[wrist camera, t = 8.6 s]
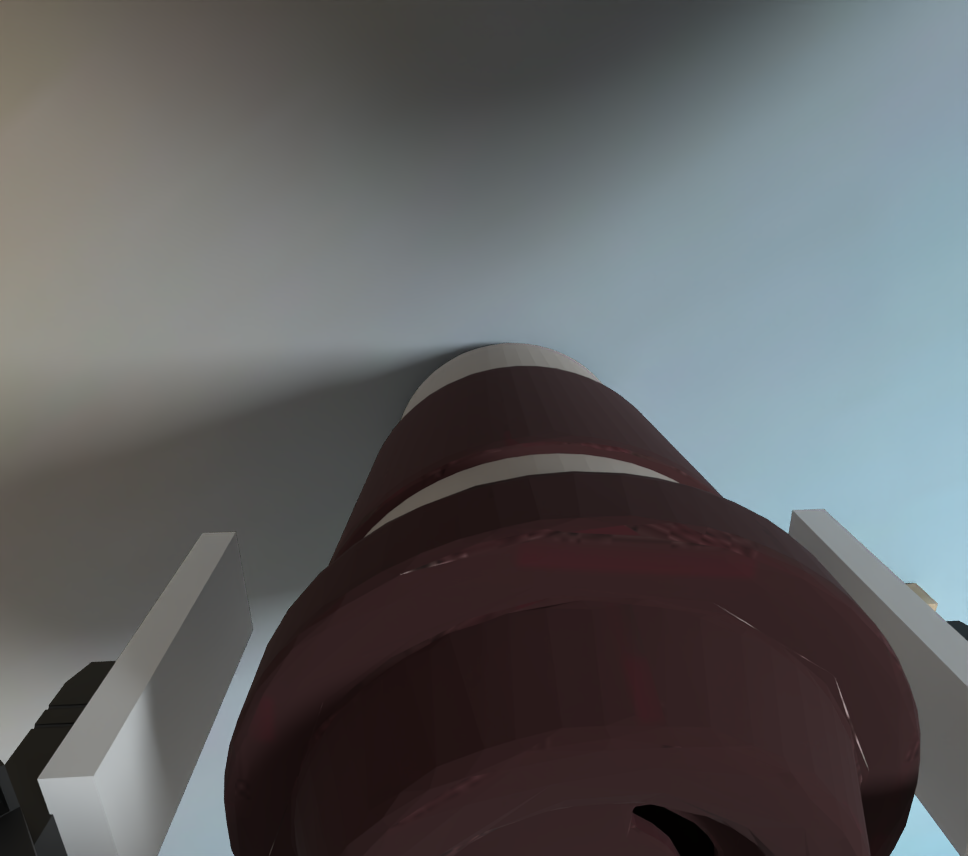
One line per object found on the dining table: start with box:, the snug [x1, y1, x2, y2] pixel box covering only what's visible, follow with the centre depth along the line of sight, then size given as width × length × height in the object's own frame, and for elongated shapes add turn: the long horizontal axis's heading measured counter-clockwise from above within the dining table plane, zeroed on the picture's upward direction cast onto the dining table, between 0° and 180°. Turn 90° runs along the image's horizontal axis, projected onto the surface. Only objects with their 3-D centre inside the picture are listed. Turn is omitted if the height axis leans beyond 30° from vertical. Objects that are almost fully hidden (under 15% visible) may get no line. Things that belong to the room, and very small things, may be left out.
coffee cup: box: [224, 343, 921, 856], centre depth 15 cm, size 10×10×15 cm
